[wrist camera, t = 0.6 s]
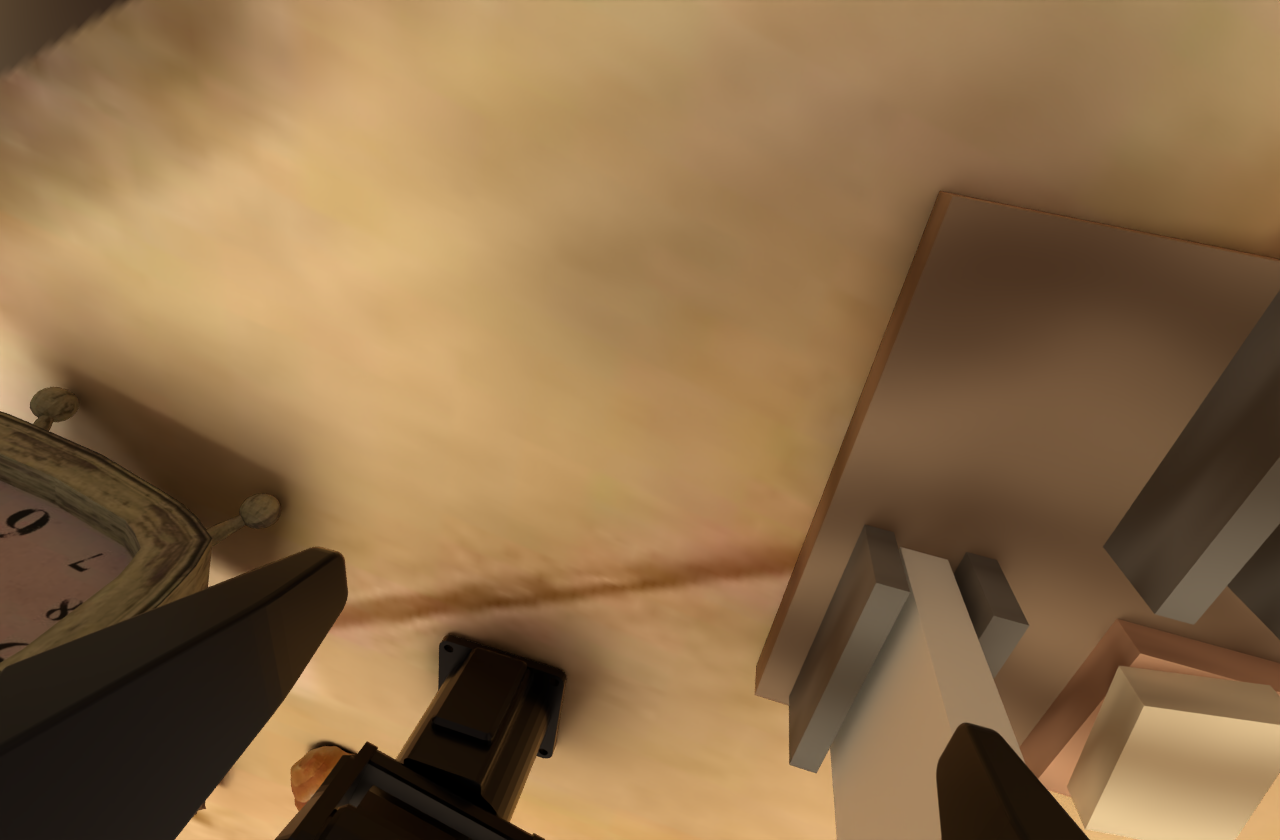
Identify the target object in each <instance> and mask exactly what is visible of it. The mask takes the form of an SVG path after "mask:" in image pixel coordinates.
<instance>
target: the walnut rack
mask: <svg viewBox="0 0 1280 840" xmlns="http://www.w3.org/2000/svg"><path fill="white" fill-rule="evenodd" d="M900 547H903V548H906V549H910V550H914V551H917V552H921V553H925V554H928V555H932V556H936V557H939V558H943V559H947V560H948V561H949V564H950V566H951V569H952V572H953V574H954V577H955V580H956V582H957V585H958V587H959V590H960V593H961V595H962V598H963V601H964V603H965V606H966V608H967V611H968V614H969V616H970V619H971V622H972V624H973V627H974V630H975V632H976V635H977V637H978V640H979V643H980V645H981V648H982V651H983V653H984V656H985V658H986V661H987V664H988V666H989V669H990V672H991V674H992V677H993V679H994V682H995V685H996V687H997V690H998V693H999V695H1000V698H1001V701H1002V703H1003V706H1004V708H1005V711H1006V714H1007V716H1008V719H1009V722H1010V724H1011V727H1012V729H1013V732H1014V735H1015V737H1016V740H1017V743H1018V745H1019V747H1020V746H1021V744H1022V743H1023V742H1024V740H1025V739H1026V738H1027V736H1028V735H1029V734H1030V732H1031V731H1032V730H1033V728H1034V727H1035V726H1036V724H1037V723H1038V722H1039V721H1040V719H1041V718H1042V717H1043V715H1044V714H1045V713H1046V711H1047V710H1048V709H1049V707H1050V706H1051V705H1052V703H1053V702H1054V701H1055V699H1056V698H1057V697H1058V695H1059V694H1060V693H1061V691H1062V690H1063V689H1064V688H1065V686H1066V685H1067V684H1068V682H1069V681H1070V680H1071V678H1072V677H1073V676H1074V674H1075V673H1076V672H1077V670H1078V669H1079V668H1080V666H1081V665H1082V664H1083V662H1084V661H1085V660H1086V659H1087V657H1088V656H1089V655H1090V653H1091V652H1092V651H1093V649H1094V648H1095V647H1096V645H1097V644H1098V643H1099V641H1100V640H1101V639H1102V637H1103V636H1104V635H1105V633H1106V632H1107V631H1108V629H1109V628H1110V627H1111V626H1112V624H1113V623H1114V622H1115V620H1116V619H1120V620H1123V621H1127V622H1131V623H1134V624H1138V625H1142V626H1145V627H1149V628H1153V629H1156V630H1160V631H1164V632H1167V633H1171V634H1175V635H1178V636H1182V637H1186V638H1189V639H1193V640H1196V641H1200V642H1204V643H1207V644H1211V645H1215V646H1218V647H1222V648H1226V649H1229V650H1233V651H1237V652H1240V653H1244V654H1248V655H1251V656H1255V657H1259V658H1262V659H1266V660H1270V661H1273V662H1277V663H1280V259H1275V258H1270V257H1265V256H1260V255H1255V254H1250V253H1245V252H1240V251H1235V250H1231V249H1226V248H1221V247H1216V246H1211V245H1206V244H1201V243H1196V242H1191V241H1186V240H1181V239H1176V238H1171V237H1166V236H1161V235H1156V234H1151V233H1146V232H1141V231H1136V230H1131V229H1126V228H1121V227H1116V226H1111V225H1106V224H1101V223H1096V222H1091V221H1086V220H1082V219H1077V218H1072V217H1067V216H1062V215H1057V214H1052V213H1047V212H1042V211H1037V210H1032V209H1027V208H1022V207H1017V206H1012V205H1007V204H1002V203H997V202H992V201H987V200H982V199H977V198H972V197H967V196H962V195H957V194H952V193H947V192H942V191H940V192H939V194H938V197H937V199H936V202H935V205H934V207H933V210H932V212H931V215H930V218H929V220H928V223H927V225H926V228H925V230H924V233H923V236H922V238H921V241H920V243H919V246H918V249H917V251H916V254H915V256H914V259H913V262H912V264H911V267H910V269H909V272H908V275H907V277H906V280H905V282H904V285H903V288H902V290H901V293H900V295H899V298H898V301H897V303H896V306H895V308H894V311H893V314H892V316H891V319H890V321H889V324H888V326H887V329H886V332H885V334H884V337H883V339H882V342H881V345H880V347H879V350H878V352H877V355H876V358H875V360H874V363H873V365H872V368H871V371H870V373H869V376H868V378H867V381H866V384H865V386H864V389H863V391H862V394H861V397H860V399H859V402H858V404H857V407H856V410H855V412H854V415H853V417H852V420H851V422H850V425H849V428H848V430H847V433H846V435H845V438H844V441H843V443H842V446H841V448H840V451H839V454H838V456H837V459H836V461H835V464H834V467H833V469H832V472H831V474H830V477H829V480H828V482H827V485H826V487H825V490H824V493H823V495H822V498H821V500H820V503H819V506H818V508H817V511H816V513H815V516H814V518H813V521H812V524H811V526H810V529H809V531H808V534H807V537H806V539H805V542H804V544H803V547H802V550H801V552H800V555H799V557H798V560H797V563H796V565H795V568H794V570H793V573H792V576H791V578H790V581H789V583H788V586H787V589H786V591H785V594H784V596H783V599H782V602H781V604H780V607H779V609H778V612H777V614H776V617H775V620H774V622H773V625H772V627H771V630H770V633H769V635H768V638H767V640H766V643H765V646H764V648H763V651H762V653H761V656H760V659H759V661H758V664H757V666H756V683H755V695H756V696H760V697H763V698H766V699H769V700H773V701H776V702H779V703H782V704H786V705H789V765H792V766H795V767H798V768H801V769H804V770H807V771H811V772H814V773H817V771H818V769H819V768H820V766H821V764H822V762H823V760H824V758H825V756H826V754H827V752H828V750H829V748H830V746H831V744H832V742H833V740H834V739H835V737H836V735H837V733H838V731H839V729H840V727H841V725H842V723H843V721H844V719H845V717H846V715H847V713H848V712H849V710H850V708H851V706H852V704H853V702H854V700H855V698H856V696H857V694H858V692H859V690H860V688H861V686H862V684H863V683H864V681H865V679H866V677H867V675H868V673H869V671H870V669H871V667H872V665H873V663H874V661H875V659H876V657H877V656H878V654H879V652H880V650H881V648H882V646H883V644H884V642H885V640H886V638H887V636H888V634H889V632H890V630H891V629H892V627H893V625H894V623H895V621H896V619H897V617H898V615H899V613H900V611H901V609H902V607H903V605H904V603H905V601H906V600H907V598H908V596H909V594H910V590H909V586H908V582H907V579H906V575H905V571H904V567H903V564H902V560H901V556H900V553H899V549H900Z"/></svg>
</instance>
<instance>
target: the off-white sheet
mask: <svg viewBox="0 0 1280 840" xmlns="http://www.w3.org/2000/svg"><path fill="white" fill-rule="evenodd" d="M899 553H900V556H901V560H902V564H903V567H904V571H905V575H906V579H907V582H908V586H909V590H910V594H909V596H908V598H907V600H906V601H905V603H904V605H903V607H902V609H901V611H900V613H899V615H898V617H897V619H896V621H895V623H894V625H893V627H892V629H891V630H890V632H889V634H888V636H887V638H886V640H885V642H884V644H883V646H882V648H881V650H880V652H879V654H878V656H877V657H876V659H875V661H874V663H873V665H872V667H871V669H870V671H869V673H868V675H867V677H866V679H865V681H864V683H863V684H862V686H861V688H860V690H859V692H858V694H857V696H856V698H855V700H854V702H853V704H852V706H851V708H850V710H849V712H848V713H847V715H846V717H845V719H844V721H843V723H842V725H841V727H840V729H839V731H838V733H837V735H836V737H835V739H834V740H833V742H832V744H831V746H830V751H831V765H832V779H833V793H834V807H835V820H836V834H837V840H941V829H940V817H939V806H938V795H937V784H936V769H937V764H938V760H939V758H940V756H941V754H942V753H943V751H944V749H945V747H946V746H947V744H948V742H949V741H950V739H951V737H952V735H953V734H954V732H955V730H956V728H957V727H958V726H959V725H960V724H962V723H964V722H967V723H972V724H975V725H979V726H983V727H986V728H990V729H993V730H995V731H996V732H998V733H999V734H1000V735H1001V736H1002V737H1003V738H1004V739H1005V740H1006V742H1007V743H1008V744H1009V745H1010V746H1011V748H1012V749H1013V750H1014V751H1015V752H1016V753H1017V755H1018V756H1019V757H1020V758H1021V759H1022V761H1023V762H1024V763H1025V761H1024V758H1023V756H1022V753H1021V751H1020V748H1019V745H1018V743H1017V740H1016V737H1015V735H1014V732H1013V729H1012V727H1011V724H1010V722H1009V719H1008V716H1007V714H1006V711H1005V708H1004V706H1003V703H1002V701H1001V698H1000V695H999V693H998V690H997V687H996V685H995V682H994V679H993V677H992V674H991V672H990V669H989V666H988V664H987V661H986V658H985V656H984V653H983V651H982V648H981V645H980V643H979V640H978V637H977V635H976V632H975V630H974V627H973V624H972V622H971V619H970V616H969V614H968V611H967V608H966V606H965V603H964V601H963V598H962V595H961V593H960V590H959V587H958V585H957V582H956V580H955V577H954V574H953V572H952V569H951V566H950V564H949V561H948V560H947V559H943V558H939V557H936V556H932V555H928V554H925V553H921V552H917V551H914V550H910V549H906V548H903V547H900V549H899Z"/></svg>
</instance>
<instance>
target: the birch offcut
mask: <svg viewBox="0 0 1280 840" xmlns="http://www.w3.org/2000/svg"><path fill="white" fill-rule="evenodd" d="M1279 773H1280V696H1279V695H1278V694H1277V693H1276V691H1275V690H1274V689H1273V688H1272V687H1271V686H1270V685H1263V684H1256V683H1248V682H1240V681H1233V680H1225V679H1218V678H1210V677H1202V676H1195V675H1187V674H1179V673H1172V672H1164V671H1156V670H1149V669H1141V668H1134V667H1126V666H1119V667H1118V669H1117V671H1116V673H1115V676H1114V678H1113V680H1112V683H1111V685H1110V687H1109V690H1108V692H1107V694H1106V697H1105V699H1104V701H1103V704H1102V706H1101V708H1100V711H1099V713H1098V715H1097V718H1096V720H1095V722H1094V725H1093V727H1092V729H1091V732H1090V734H1089V736H1088V739H1087V741H1086V743H1085V745H1084V748H1083V750H1082V752H1081V755H1080V757H1079V759H1078V762H1077V764H1076V766H1075V769H1074V771H1073V773H1072V776H1071V778H1070V780H1069V783H1068V785H1067V788H1068V791H1069V793H1070V795H1071V798H1072V800H1073V802H1074V805H1075V807H1076V809H1077V811H1078V814H1079V816H1080V818H1081V821H1082V823H1083V825H1084V828H1085V830H1090V831H1096V832H1101V833H1107V834H1112V835H1118V836H1123V837H1129V838H1134V839H1139V840H1236V838H1237V837H1238V835H1239V834H1240V832H1241V831H1242V829H1243V828H1244V826H1245V825H1246V823H1247V822H1248V820H1249V819H1250V817H1251V816H1252V814H1253V813H1254V811H1255V810H1256V808H1257V807H1258V805H1259V803H1260V802H1261V800H1262V799H1263V797H1264V796H1265V794H1266V793H1267V791H1268V790H1269V788H1270V787H1271V785H1272V784H1273V782H1274V781H1275V779H1276V778H1277V776H1278V775H1279Z"/></svg>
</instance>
